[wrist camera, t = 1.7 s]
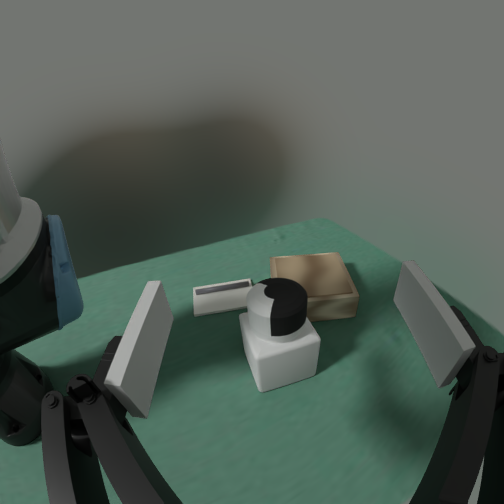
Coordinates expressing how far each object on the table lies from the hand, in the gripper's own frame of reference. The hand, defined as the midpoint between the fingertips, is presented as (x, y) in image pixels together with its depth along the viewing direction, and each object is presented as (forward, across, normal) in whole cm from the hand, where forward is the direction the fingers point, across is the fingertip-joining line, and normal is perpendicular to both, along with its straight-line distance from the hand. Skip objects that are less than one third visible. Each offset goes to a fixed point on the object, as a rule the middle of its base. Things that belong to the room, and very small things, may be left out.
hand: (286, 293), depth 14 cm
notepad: (+24, -8, -20) cm, 32 cm away
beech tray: (+23, +6, -19) cm, 30 cm away
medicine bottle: (+10, 0, -20) cm, 22 cm away
